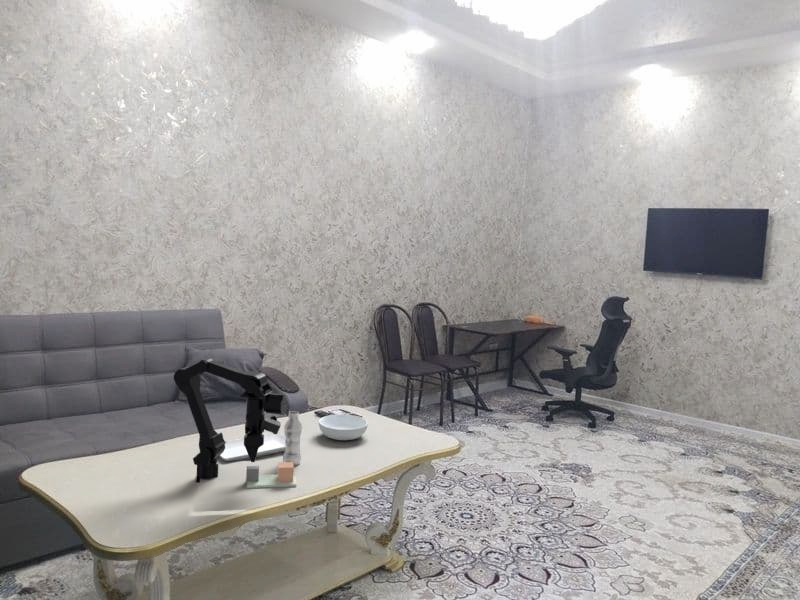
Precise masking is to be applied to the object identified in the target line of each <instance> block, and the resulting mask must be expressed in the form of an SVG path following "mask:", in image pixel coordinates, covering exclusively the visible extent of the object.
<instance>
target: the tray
mask: <svg viewBox="0 0 800 600" xmlns="http://www.w3.org/2000/svg"><path fill="white" fill-rule="evenodd" d="M262 434H263V433H262ZM263 435H264V444H263V445H262V446H261V447H259V448H258V451H257V455H256V458H258V457H263V456H267V455H271V454H272V455H273V454H277V453H278V454H279V453H282V452H284V450H285V434H282V433H280V432H278V433H277V434H273V433H272V432H269V433H264V434H263ZM224 441H225V442H226V443H225V450H224V452H223V453H222V454H221V455H220V457H219V458H221V459H222V460H223V461H225V462H227V463H230V462H232V463H233V462H238V461H242V460H243V461H244V460H248V459H250V458H249V455H248V453H247V450H246V448H245V446H244V437H242V438H238V439H236V438H235V439H230V440H227V441H226V440H224Z"/></svg>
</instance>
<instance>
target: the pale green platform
mask: <svg viewBox="0 0 800 600" xmlns="http://www.w3.org/2000/svg"><path fill="white" fill-rule="evenodd" d="M245 476H246V480H245V482H246V488H247V489H256V488H257V489H261V488H263V489H264V488H290V487H292V488H293V487H297V480H296V479H297V478H296V473H293V482H278V473H276V474H274V473H273V474H272V473H271V474H260V465H250V466H249V465H247V466H246V475H245Z"/></svg>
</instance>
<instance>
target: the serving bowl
mask: <svg viewBox="0 0 800 600" xmlns="http://www.w3.org/2000/svg"><path fill="white" fill-rule="evenodd" d="M368 425H369V423H368V420H367V419H366V418H363V417H361V416H358V415H354V414H353V415H352V414H330V415H326V416H323V417H321V418H320V419H319V420H318V427H319V430H320V432H321V433H322V434H323V435H324V436H325V437H327V438H330V439H332V440H337V441H349V440H350V441H351V440H352V441H353V440H355V439H356V440H357V439H359V438H360V437H362V436H363V435H364V434H365V432H366V431H367V429H368Z"/></svg>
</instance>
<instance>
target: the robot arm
mask: <svg viewBox="0 0 800 600" xmlns="http://www.w3.org/2000/svg"><path fill="white" fill-rule="evenodd" d="M205 373H208V374H210V375H214V376H216V377H219V378H222V379H224V380H228V381H230V382H233V383H235V384H237V385H238V386H239V387H240V388H241V389H243V390H244V392H243V393H242V394H241V395H240V398H243V399H244V398H245V399H246V405H245V423H244V433H245V435H244V436H243V438H244V446H245V448H246V450H247V453H248V455H249V458H248V459H249V460H250V462H251V463H255V462H256V458H257V457H256V455H257V451H258V448H259V447H261V446H262V445H263V444H264V435H263V433H264V432H265V431H266V432H269V433H273V434H277V433H279V430H280V428H281V426H282V425H281V423H282V422H280V420H278V416H279V415H280V416H284V415H285V414H286V413H287V411H288V400H287V397H286V393H276V392H275V391H274V389H273V388H272V386H271V385H270V383H269V382H268V378H267V376H266V374H265V373H264V372H260V371H254V370H243V369H240V368H237V367H234V366H231V365H228V364H225V363H222V362H220V361H218V360H214V359H213V358H211V357H208V358H203V359H201V360H199V362H196V363H195V364H192V365H187V366H185V367H182V368H179V369H178V370H176V371H175V373H174V375H173V381H174V383H175V385H176V387H177V388H178V389H177V390H179V391H180V392H181V393H182V394H183V395H184V396H185V398H186V401H187V404H188V406H189V410H190V412H191V415H192V417H193V420H194V424H195V426H196V429H197V432H198V434H199V439H198V448H199V452H198V453H197V454H196V455H195V456H194V457H193V458H192V460H193V461H192V462H193V464H194V465H195V466H196V478H195V483H200V482H201V480H211V479H215V478H218V477H219V466H220V465H219V463H218V459H219V458H221V457H220V455H221V454H222V453H223V452H224V450H225V443H226V442H225V441H226V440H225V439H224V435H223V433H222V432H219V433H218V432H217V431H216V430H215V429H214V426H213V424H212V421H211V419H210V416H209V412H208V409H207V406H206V403H205V401H204V398H203V396H202V394H201V393H202V392H201V383H202V382H201V381H202V380H201V376H202V375H204V374H205ZM264 412H265V413H266V414H271V416H270V417H269V416H268V417H266V416H265V413H264ZM277 415H278V416H277Z"/></svg>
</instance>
